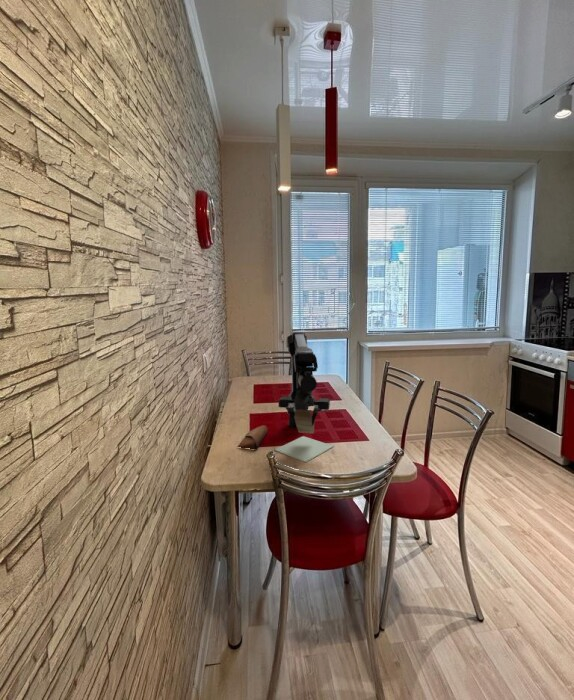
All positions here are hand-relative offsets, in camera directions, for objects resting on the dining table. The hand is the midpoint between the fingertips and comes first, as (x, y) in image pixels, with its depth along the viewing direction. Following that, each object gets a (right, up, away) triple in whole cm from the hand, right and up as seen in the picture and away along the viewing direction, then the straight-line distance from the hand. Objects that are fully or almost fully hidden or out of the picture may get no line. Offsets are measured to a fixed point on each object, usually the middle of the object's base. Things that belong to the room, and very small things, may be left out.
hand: (304, 424), depth 139 cm
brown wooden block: (+1, -3, +6) cm, 7 cm away
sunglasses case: (-20, -9, +9) cm, 24 cm away
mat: (0, -9, +1) cm, 9 cm away
